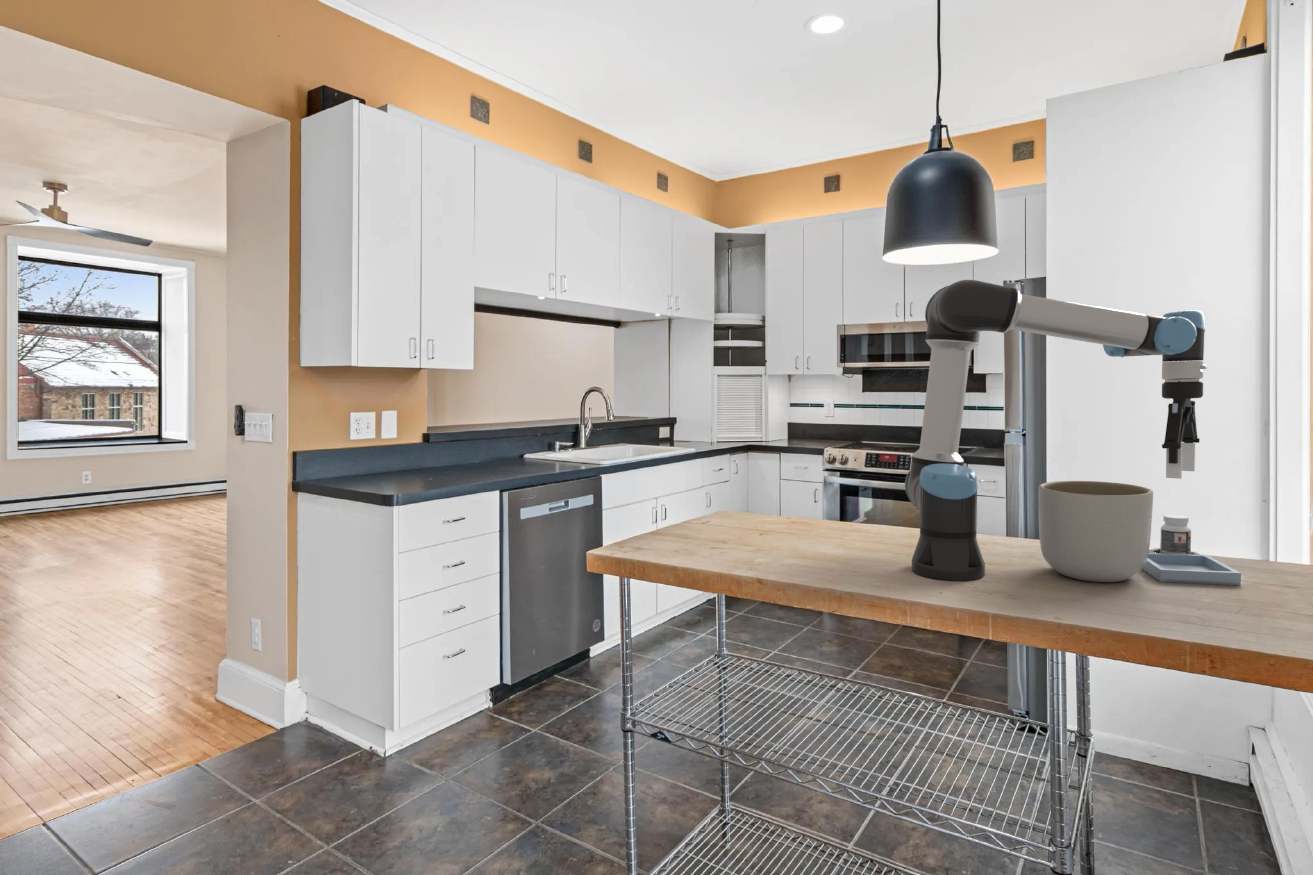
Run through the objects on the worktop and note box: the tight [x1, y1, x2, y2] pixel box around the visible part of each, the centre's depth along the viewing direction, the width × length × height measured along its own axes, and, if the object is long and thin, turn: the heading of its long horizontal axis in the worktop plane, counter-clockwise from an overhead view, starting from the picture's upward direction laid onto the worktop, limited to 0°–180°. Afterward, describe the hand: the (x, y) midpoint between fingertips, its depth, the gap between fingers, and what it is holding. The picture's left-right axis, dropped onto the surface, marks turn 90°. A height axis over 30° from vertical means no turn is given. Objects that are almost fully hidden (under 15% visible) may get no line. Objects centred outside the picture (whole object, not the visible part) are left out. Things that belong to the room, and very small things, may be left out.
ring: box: [1148, 547, 1201, 555], centre depth 167 cm, size 10×10×1 cm
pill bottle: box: [1159, 514, 1192, 554], centre depth 166 cm, size 6×6×10 cm
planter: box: [1038, 480, 1154, 583], centre depth 154 cm, size 21×21×19 cm
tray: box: [1141, 553, 1242, 586], centre depth 154 cm, size 14×15×2 cm
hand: (1180, 474), depth 164 cm, fingers open, 13 cm apart
